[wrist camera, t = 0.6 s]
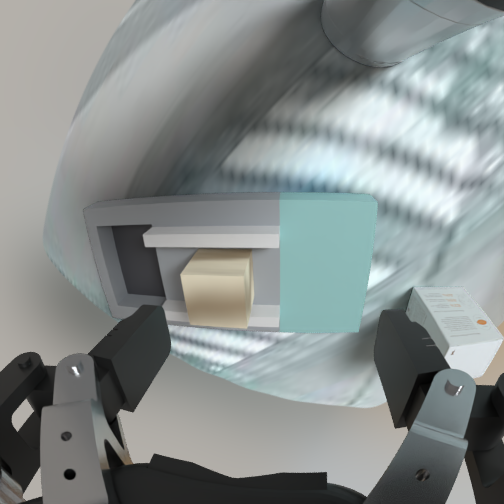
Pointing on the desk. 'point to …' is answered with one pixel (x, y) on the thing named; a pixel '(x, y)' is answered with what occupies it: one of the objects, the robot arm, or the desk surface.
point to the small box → (456, 327)
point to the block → (219, 287)
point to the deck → (241, 237)
